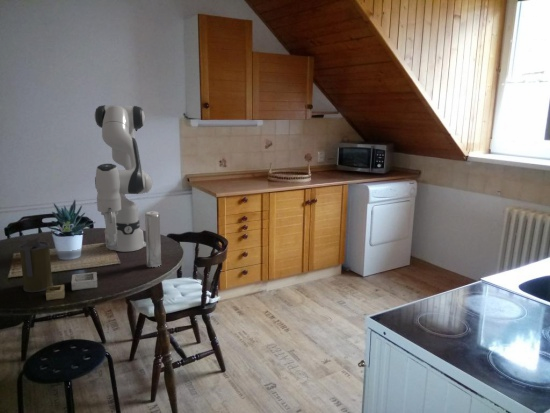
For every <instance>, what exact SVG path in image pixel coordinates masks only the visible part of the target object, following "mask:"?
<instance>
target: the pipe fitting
mask: <svg viewBox="0 0 550 413" xmlns="http://www.w3.org/2000/svg"><path fill="white" fill-rule="evenodd" d="M103 232H104V235H105V236H104V239H105V248H106V249H109V248H115V247H117V246H118V245H117V233H116V234H114V241H113V242H110V241H109V235H107V233H106V228H105V229H104V230H103Z"/></svg>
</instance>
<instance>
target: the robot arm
mask: <svg viewBox="0 0 550 413" xmlns="http://www.w3.org/2000/svg"><path fill="white" fill-rule="evenodd" d="M94 121H95V123H96V125H97V126H98V127H99V128H101V137H102V140H103V142H104V143H105V144H106V145H107V146H109V147H110V148H111V154H112V155H111V156H112V160H113V162H115V163H116V164H117V165H120V166H122V167H124V169H118V166H117V165H116V164H114V163H103V164H100V165H97V166H96V170H95V171H96V172H95V177H94V183H95V184H94V185H95V187H94V188H95V189H96V193H97V194H96V207H97V211H98V212H100V213H101V214H100V215H102V216H103V219H104V224H105V229H106V233H107V235H109V241H110V242H113V241H114V234H116V233H117V245H118V246H117V247H115V248H108V250H110V251H111V250H112V251H115V252H123V253H125V252H134V251H138V250H140V249H143V248H146V240H145V239H144V230H142V229H141V225H140V224H141V223H140V219H139V206H138V205H137V203H135V201H133V200H130V199H128V197H126V195H141V194H146V193H149V192H150V191H151V190H152V187H153V179H152V178H151V175H149V173H147V172H146V171H144V170H143V169H142V163H141V159H140V158H141V157H140V152H139V151H140V150H139V147H138V142H137V141H136V133H135V132H138V130H140V129H142V127H143V126H144V125H145V121H146V115H145V111H144V109H143V108H142V107H141V106H137V105H133V106H132V105H129V104H128V105H125V104H113V105H112V104H111V105H105V104H104V105H99V106H97V108H96V109H95V112H94Z"/></svg>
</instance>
